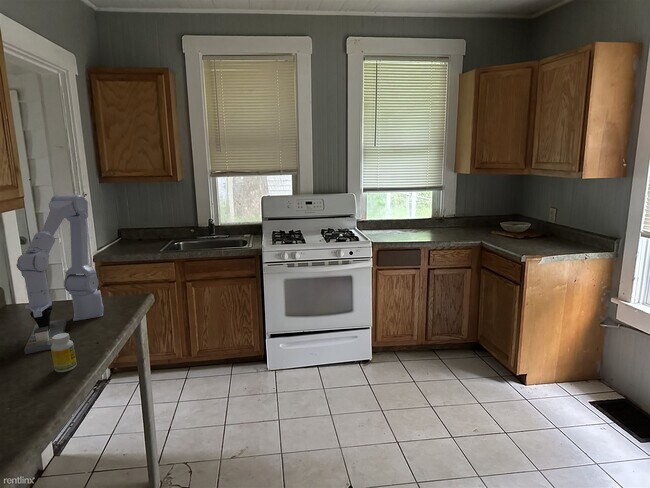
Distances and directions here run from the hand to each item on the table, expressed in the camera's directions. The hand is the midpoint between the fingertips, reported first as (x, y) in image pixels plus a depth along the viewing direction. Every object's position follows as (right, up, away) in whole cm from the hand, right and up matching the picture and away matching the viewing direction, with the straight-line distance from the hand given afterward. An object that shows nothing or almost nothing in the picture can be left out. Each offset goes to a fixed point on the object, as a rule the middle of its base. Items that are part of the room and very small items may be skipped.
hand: (45, 330), depth 140 cm
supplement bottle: (+18, -7, -18) cm, 26 cm away
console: (-1, -3, +2) cm, 4 cm away
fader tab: (+2, -2, -5) cm, 6 cm away
